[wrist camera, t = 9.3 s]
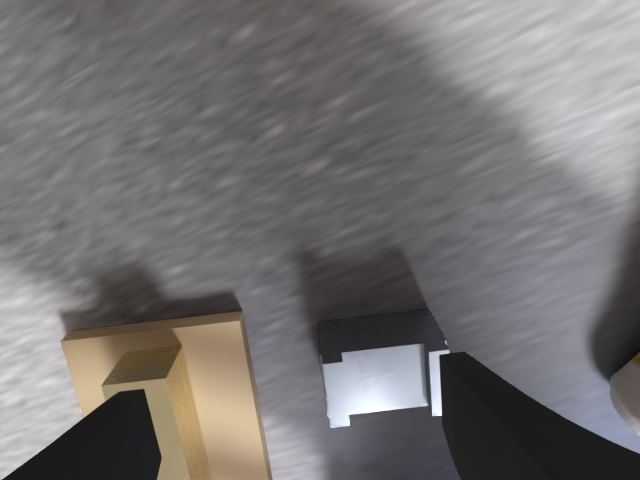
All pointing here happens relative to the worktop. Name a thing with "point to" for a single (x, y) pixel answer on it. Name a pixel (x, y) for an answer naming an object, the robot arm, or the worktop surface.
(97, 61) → the worktop surface
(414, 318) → the post
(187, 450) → the rail
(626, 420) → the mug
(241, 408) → the board
